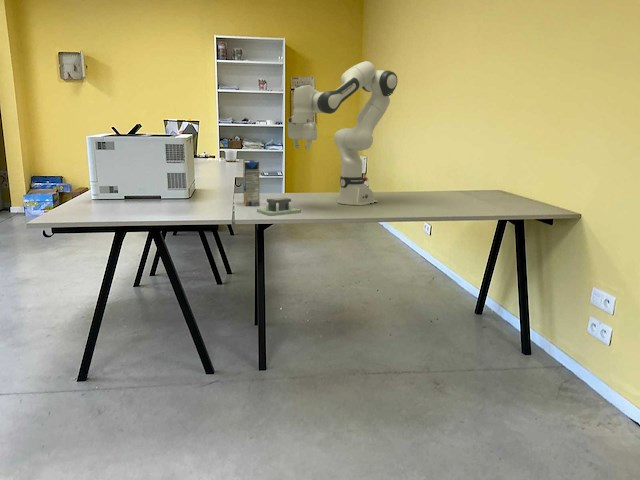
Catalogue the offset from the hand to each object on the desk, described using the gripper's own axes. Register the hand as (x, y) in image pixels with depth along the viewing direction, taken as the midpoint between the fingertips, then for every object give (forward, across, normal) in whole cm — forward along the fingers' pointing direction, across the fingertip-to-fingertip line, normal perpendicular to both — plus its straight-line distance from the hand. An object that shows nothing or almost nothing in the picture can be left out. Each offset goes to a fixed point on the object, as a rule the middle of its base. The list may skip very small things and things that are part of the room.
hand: (302, 148), depth 232 cm
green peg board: (+29, -3, +15) cm, 33 cm away
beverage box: (+29, +22, +16) cm, 40 cm away
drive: (+28, -3, +15) cm, 32 cm away
